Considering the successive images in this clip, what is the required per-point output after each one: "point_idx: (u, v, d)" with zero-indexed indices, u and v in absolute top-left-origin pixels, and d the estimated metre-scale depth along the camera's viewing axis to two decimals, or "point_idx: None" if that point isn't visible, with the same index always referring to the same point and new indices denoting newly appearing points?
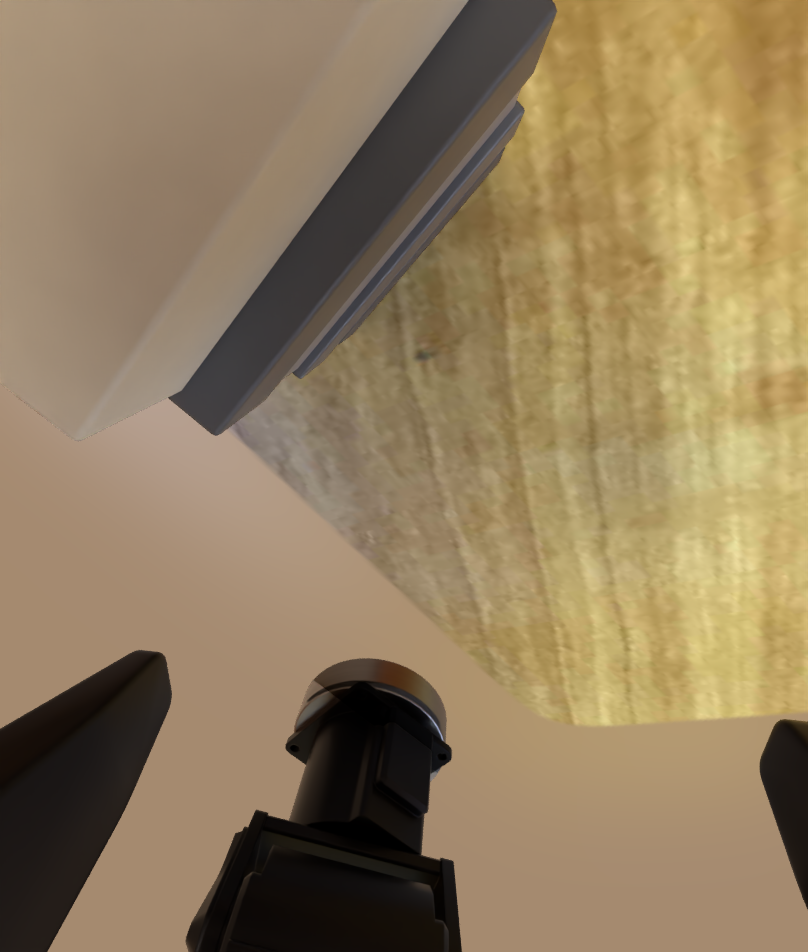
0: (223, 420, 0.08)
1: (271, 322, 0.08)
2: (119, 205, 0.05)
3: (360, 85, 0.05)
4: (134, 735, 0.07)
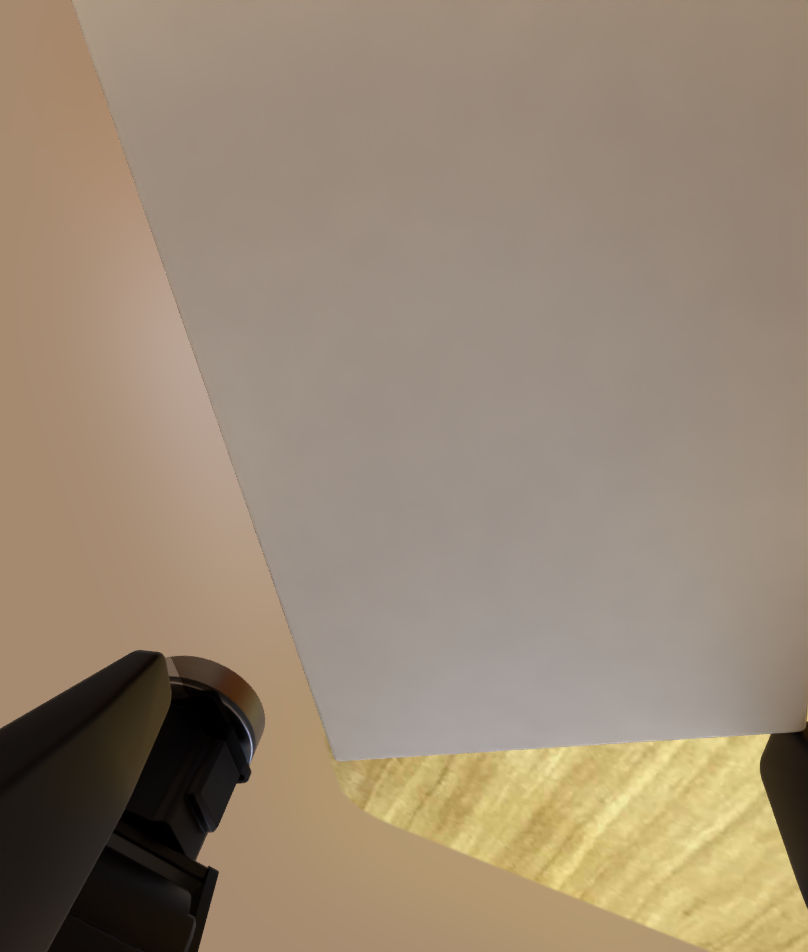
0: None
1: None
2: (489, 710, 0.07)
3: None
4: (134, 735, 0.07)
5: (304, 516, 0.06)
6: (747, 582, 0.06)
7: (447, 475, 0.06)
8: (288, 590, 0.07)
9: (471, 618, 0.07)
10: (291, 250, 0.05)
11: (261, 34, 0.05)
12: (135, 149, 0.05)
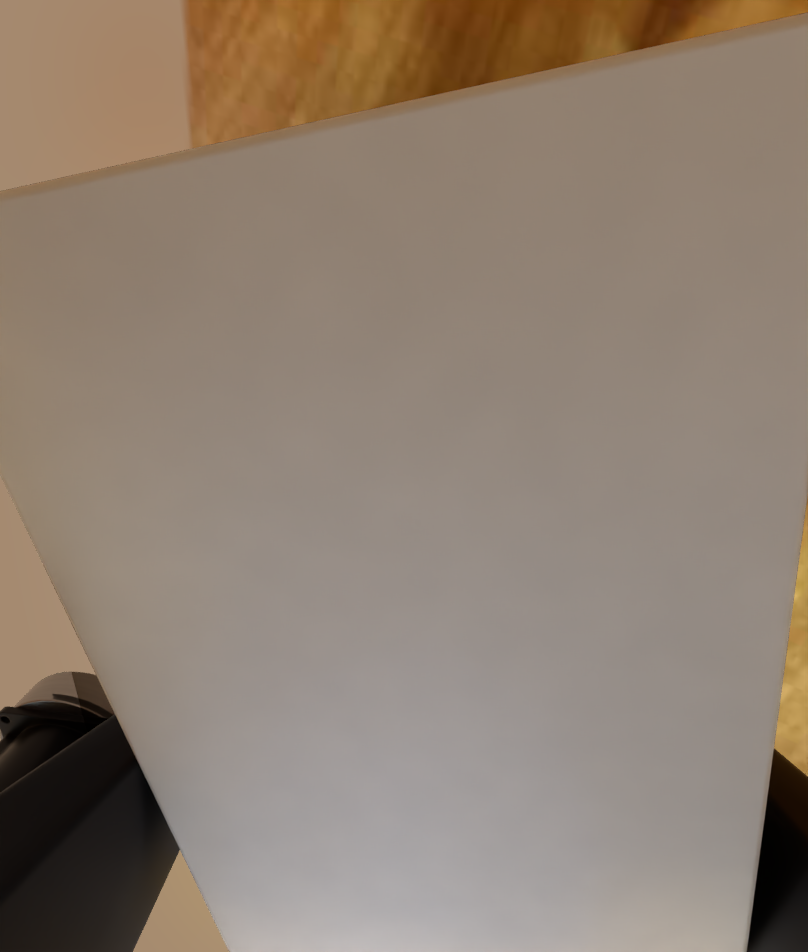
0: None
1: None
2: None
3: None
4: None
5: (204, 786, 0.06)
6: (679, 887, 0.06)
7: (356, 766, 0.06)
8: (190, 846, 0.06)
9: (385, 887, 0.06)
10: (180, 558, 0.05)
11: (136, 360, 0.04)
12: (0, 449, 0.05)
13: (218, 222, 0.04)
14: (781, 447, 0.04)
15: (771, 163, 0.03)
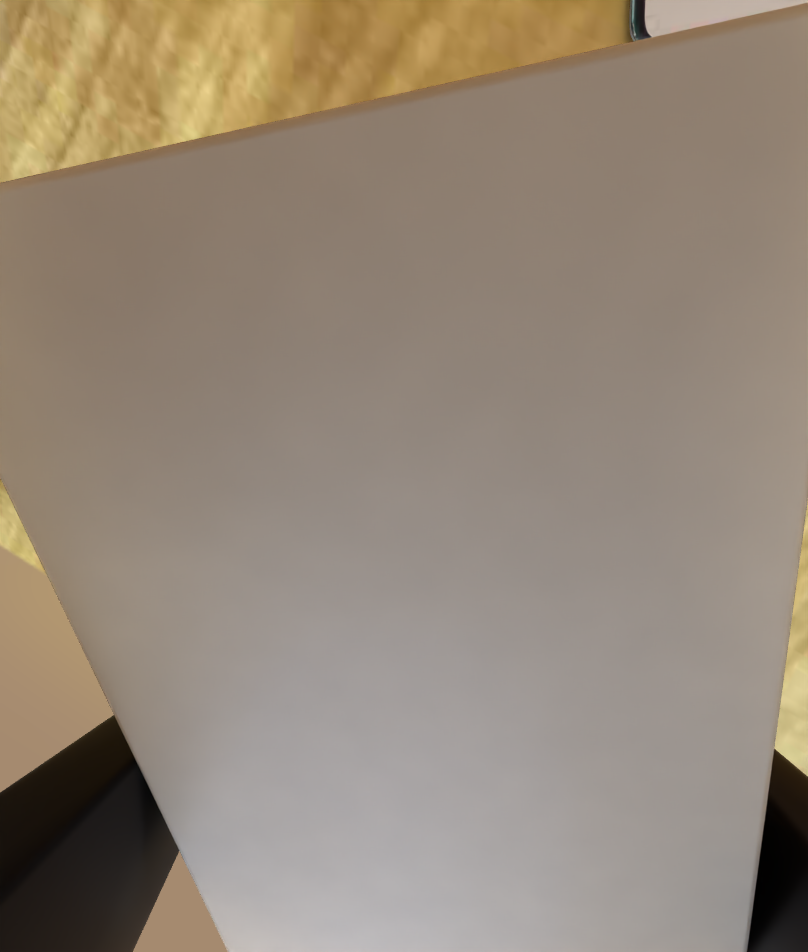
0: None
1: None
2: None
3: None
4: None
5: (202, 784, 0.06)
6: (679, 885, 0.06)
7: (355, 765, 0.06)
8: (188, 844, 0.06)
9: (384, 885, 0.06)
10: (176, 554, 0.05)
11: (133, 354, 0.04)
12: None
13: (217, 215, 0.04)
14: (782, 442, 0.04)
15: (773, 155, 0.03)
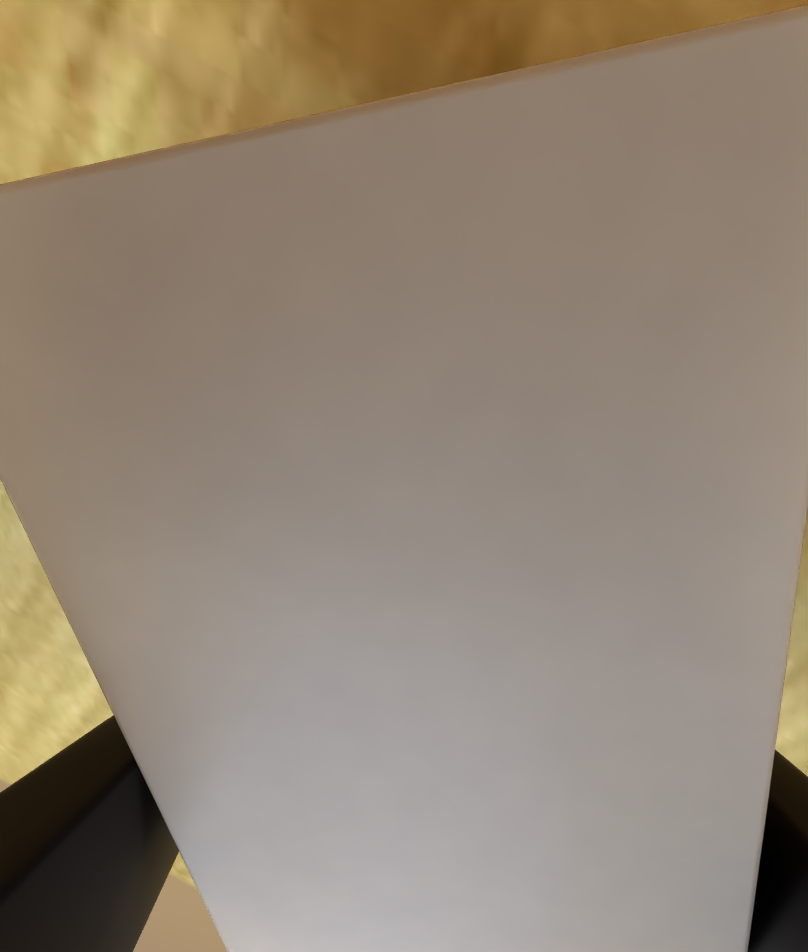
0: None
1: None
2: None
3: None
4: None
5: (202, 786, 0.06)
6: (679, 886, 0.06)
7: (355, 766, 0.06)
8: (188, 845, 0.06)
9: (385, 887, 0.06)
10: (177, 555, 0.05)
11: (133, 356, 0.04)
12: None
13: (217, 218, 0.04)
14: (783, 444, 0.04)
15: (775, 157, 0.03)
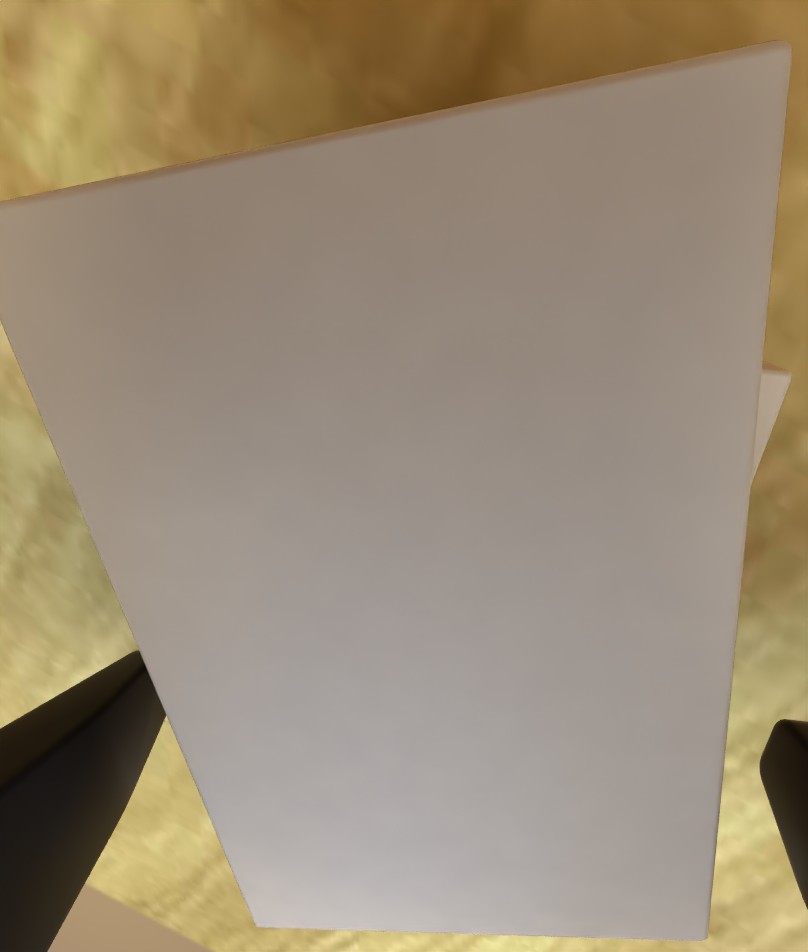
0: None
1: None
2: (404, 900, 0.07)
3: None
4: (134, 735, 0.07)
5: (222, 728, 0.07)
6: (650, 820, 0.06)
7: (361, 708, 0.06)
8: (207, 786, 0.07)
9: (386, 824, 0.07)
10: (207, 513, 0.05)
11: (175, 336, 0.05)
12: (52, 416, 0.05)
13: (251, 217, 0.04)
14: (730, 413, 0.04)
15: (714, 171, 0.04)
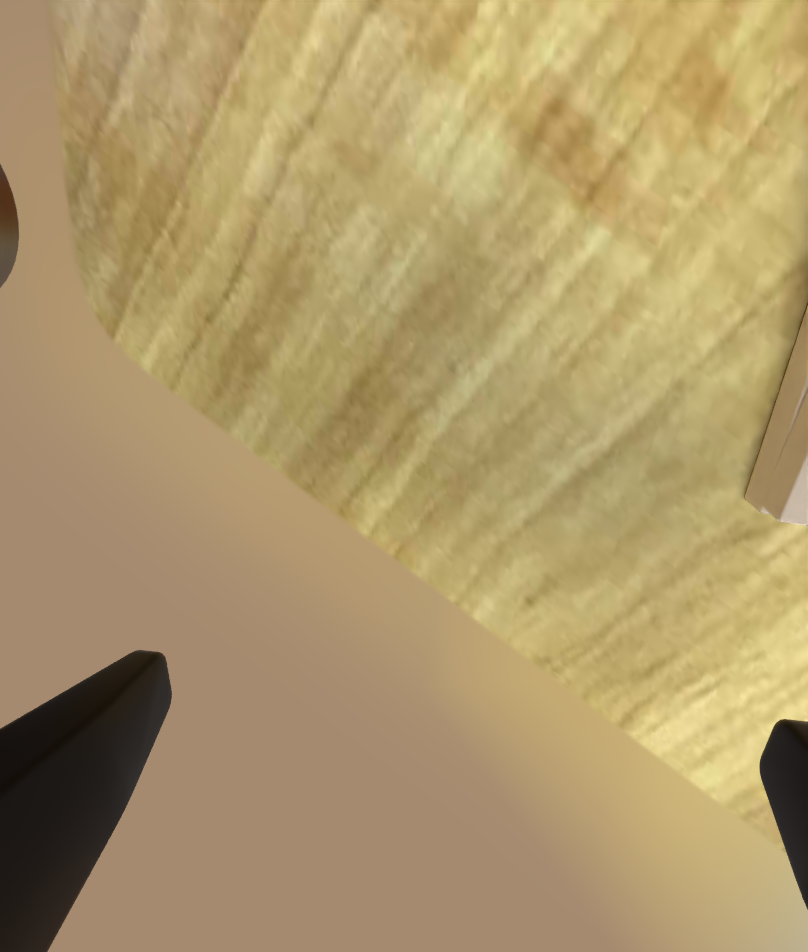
0: None
1: None
2: None
3: None
4: (134, 735, 0.07)
5: None
6: None
7: None
8: None
9: None
10: None
11: None
12: None
13: None
14: None
15: None
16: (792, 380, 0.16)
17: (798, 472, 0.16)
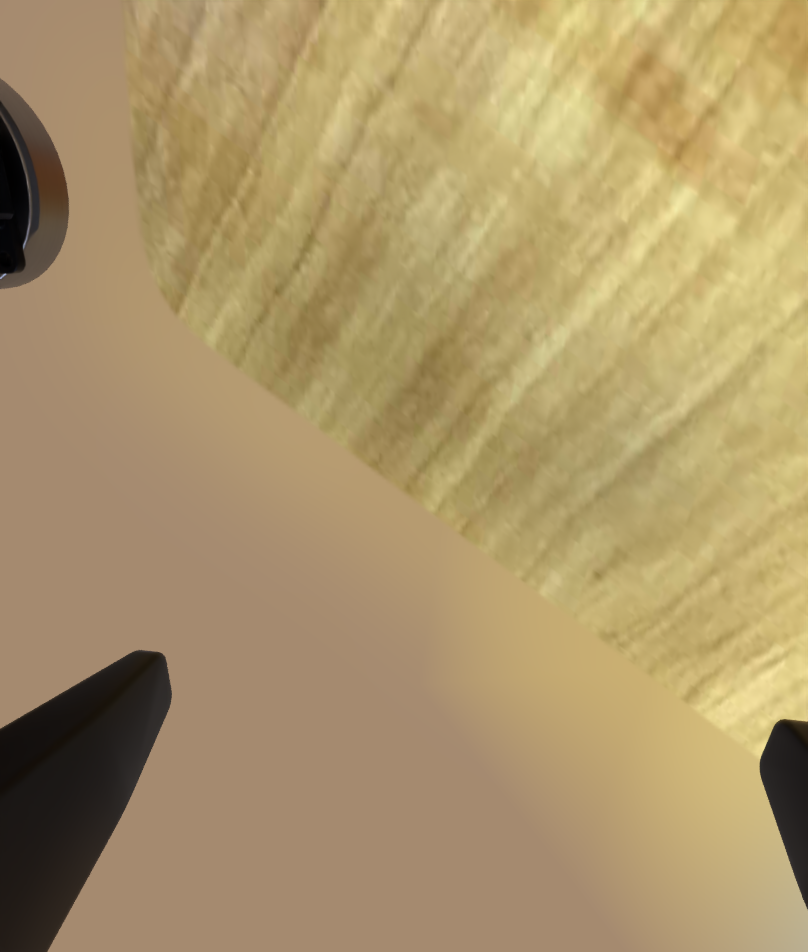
0: None
1: None
2: None
3: None
4: (134, 735, 0.07)
5: None
6: None
7: None
8: None
9: None
10: None
11: None
12: None
13: None
14: None
15: None
16: None
17: None
